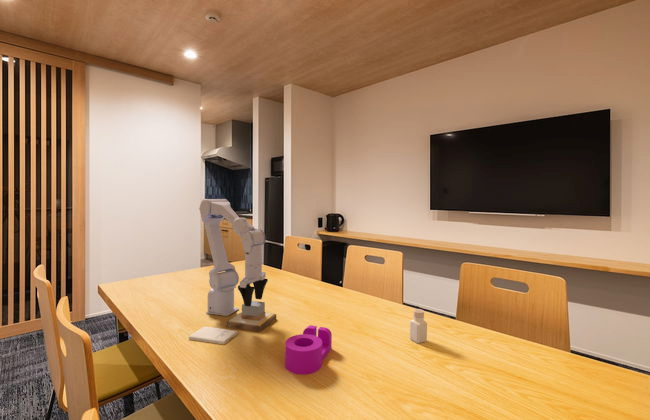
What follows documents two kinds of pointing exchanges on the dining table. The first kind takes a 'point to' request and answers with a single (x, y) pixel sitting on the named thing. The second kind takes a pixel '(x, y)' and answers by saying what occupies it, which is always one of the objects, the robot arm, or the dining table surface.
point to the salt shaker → (418, 327)
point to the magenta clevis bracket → (307, 350)
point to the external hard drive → (213, 335)
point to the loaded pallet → (253, 311)
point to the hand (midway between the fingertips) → (253, 302)
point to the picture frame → (251, 322)
